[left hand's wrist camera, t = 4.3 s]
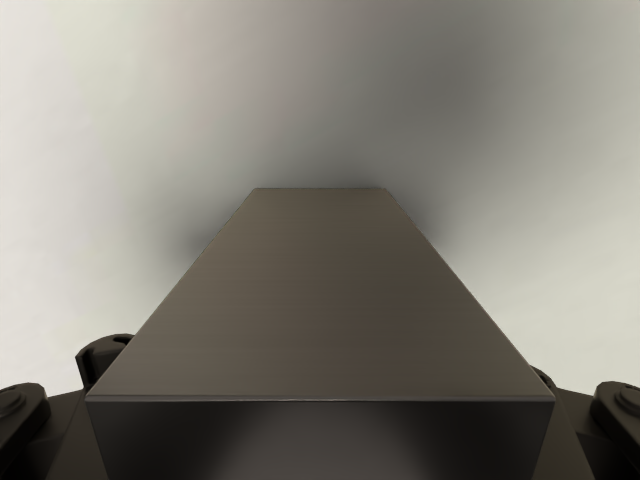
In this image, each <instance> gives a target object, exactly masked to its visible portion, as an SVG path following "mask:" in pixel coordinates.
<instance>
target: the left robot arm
mask: <svg viewBox="0 0 640 480" xmlns="http://www.w3.org/2000/svg"><path fill="white" fill-rule="evenodd" d="M134 336H135V335H131V334H114V335H110V336H106V337H103V338H100V339H98V340H96V341H94V342H91V343H90V344H88V345H87V346H86V347H84V348H83V349H81V350H80V352H79V353H78V354H77V355H76V356H75V359H76V362H77V365H78V369H79V372H80V375H81V379H82V382H83V385H84V388H83V389H81V390H78V391H74V392H70V393H65V394H61V395H56V396H52V397H47V395H46V392H45V390H44V387H42V386H41V385H40V384H37V383H23V384H17V385H13V386H10V387H7V388H4V389H1V390H0V480H108V477H107V473H106V470H105V467H104V464H103V460H102V457H101V454H100V451H99V447H98V444H97V441H96V438H95V434H94V431H93V428H92V425H91V421H90V418H89V415H88V412H87V408H86V405H85V402H84V400H85V396H86V395H87V393H88V392H89V391H90V390H91V389H92V387H93V386H94V385H95V384H96V382H97V381H98V380H99V379H100V378H101V376H102V375H103V374H104V373H105V371H106V370H107V369H108V368H109V367H110V365H111V364H112V363H113V362H114V360H115V359H116V358H117V357H118V356H119V354H120V353H121V352H122V351H123V349H124V348H125V347H126V346H127V344H128V343H129V342H130V341H131V340H132V338H133V337H134ZM530 366H531V365H530ZM531 367H532V369H533V370H534V371H535V372H536V374H537V375H538V376H539V377H540V378H541V380H542V381H543V382H544V383H545V385H546V386H547V387H548V388H549V389H550V391H551V392H552V393H553V394H554V396H555V398H556V403H555V406H554V409H553V413H552V416H551V419H550V422H549V426H548V429H547V432H546V435H545V439H544V442H543V445H542V448H541V452H540V455H539V458H538V461H537V465H536V468H535V471H534V474H533V478H532V480H640V388H638V387H636V386H632V385H629V384H626V383H621V382H615V381H609V382H602V383H601V384H599V385H598V386H597V388H596V390H595V393H594V396H591V395H586V394H582V393H577V392H573V391H568V390H564V389H560V388H557V387H556V385H555V384H554V382H553V381H552V380H551V378H550V377H549V376H547V375H546V374H545V373H543V372H542V371H541V370H539V369H537V368H535V367H533V366H531Z"/></svg>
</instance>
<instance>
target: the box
mask: <svg viewBox="0 0 640 480" xmlns="http://www.w3.org/2000/svg"><path fill="white" fill-rule="evenodd" d="M84 402H85V405H86V408H87V412H88V415H89V418H90V421H91V425H92V428H93V431H94V434H95V438H96V441H97V444H98V447H99V451H100V454H101V457H102V460H103V464H104V467H105V470H106V473H107V477H108V480H532V478H533V474H534V471H535V468H536V465H537V461H538V458H539V455H540V452H541V448H542V445H543V442H544V439H545V435H546V432H547V429H548V426H549V422H550V419H551V416H552V413H553V409H554V406H555V403H556V398H555V396H554V394H553V393H552V392H551V391H550V389H549V388H548V387H547V386H546V385H545V383H544V382H543V381H542V380H541V378H540V377H539V376H538V375H537V374H536V372H535V371H534V370H533V369H532V367H531V366H530V365H529V364H528V363H527V361H526V360H525V359H524V358H523V356H522V355H521V354H520V353H519V352H518V350H517V349H516V348H515V347H514V345H513V344H512V343H511V342H510V340H509V339H508V338H507V337H506V336H505V334H504V333H503V332H502V331H501V329H500V328H499V327H498V326H497V325H496V323H495V322H494V321H493V320H492V318H491V317H490V316H489V315H488V314H487V312H486V311H485V310H484V309H483V307H482V306H481V305H480V304H479V303H478V301H477V300H476V299H475V298H474V296H473V295H472V294H471V293H470V292H469V290H468V289H467V288H466V287H465V285H464V284H463V283H462V282H461V281H460V279H459V278H458V277H457V276H456V274H455V273H454V272H453V271H452V269H451V268H450V267H449V266H448V265H447V263H446V262H445V261H444V260H443V258H442V257H441V256H440V255H439V254H438V252H437V251H436V250H435V249H434V247H433V246H432V245H431V244H430V243H429V241H428V240H427V239H426V238H425V236H424V235H423V234H422V233H421V232H420V230H419V229H418V228H417V227H416V225H415V224H414V223H413V222H412V221H411V219H410V218H409V217H408V216H407V214H406V213H405V212H404V211H403V210H402V208H401V207H400V206H399V205H398V203H397V202H396V201H395V200H394V199H393V197H392V196H391V195H390V194H389V192H388V191H387V190H386V189H254V190H253V191H252V193H251V194H250V195H249V196H248V197H247V199H246V200H245V201H244V202H243V204H242V205H241V206H240V207H239V208H238V210H237V211H236V212H235V213H234V215H233V216H232V217H231V218H230V219H229V221H228V222H227V223H226V224H225V226H224V227H223V228H222V229H221V230H220V232H219V233H218V234H217V235H216V237H215V238H214V239H213V240H212V242H211V243H210V244H209V245H208V246H207V248H206V249H205V250H204V251H203V253H202V254H201V255H200V256H199V257H198V259H197V260H196V261H195V262H194V264H193V265H192V266H191V267H190V268H189V270H188V271H187V272H186V273H185V275H184V276H183V277H182V278H181V280H180V281H179V282H178V283H177V284H176V286H175V287H174V288H173V289H172V291H171V292H170V293H169V294H168V295H167V297H166V298H165V299H164V300H163V302H162V303H161V304H160V305H159V306H158V308H157V309H156V310H155V311H154V313H153V314H152V315H151V316H150V318H149V319H148V320H147V321H146V322H145V324H144V325H143V326H142V327H141V329H140V330H139V331H138V332H137V333H136V335H135V336H134V337H133V338H132V340H131V341H130V342H129V343H128V344H127V346H126V347H125V348H124V349H123V351H122V352H121V353H120V354H119V356H118V357H117V358H116V359H115V360H114V362H113V363H112V364H111V365H110V367H109V368H108V369H107V370H106V371H105V373H104V374H103V375H102V376H101V378H100V379H99V380H98V381H97V382H96V384H95V385H94V386H93V387H92V389H91V390H90V391H89V392H88V393H87V395H86V396H85V400H84Z"/></svg>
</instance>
